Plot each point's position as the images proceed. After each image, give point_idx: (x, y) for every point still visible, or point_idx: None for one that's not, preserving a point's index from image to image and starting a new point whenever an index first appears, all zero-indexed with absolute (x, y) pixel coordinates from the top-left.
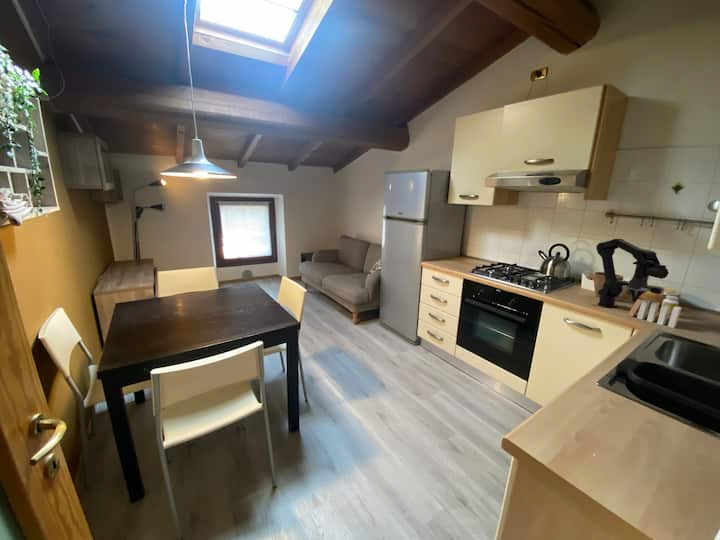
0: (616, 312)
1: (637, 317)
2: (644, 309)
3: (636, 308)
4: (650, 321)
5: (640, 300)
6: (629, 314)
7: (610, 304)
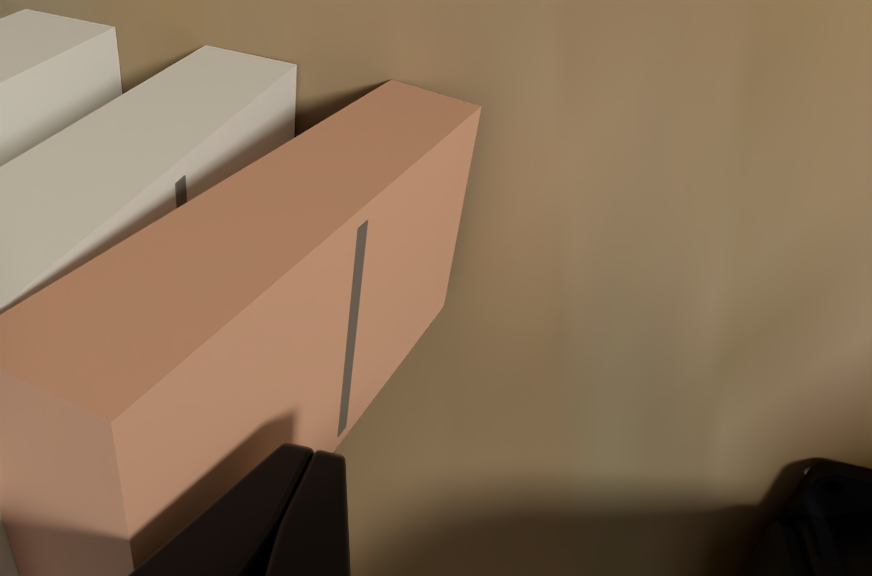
0: (712, 205)
1: (278, 70)
2: (30, 154)
3: (249, 178)
4: (43, 18)
5: (23, 426)
6: (439, 108)
7: (834, 556)
